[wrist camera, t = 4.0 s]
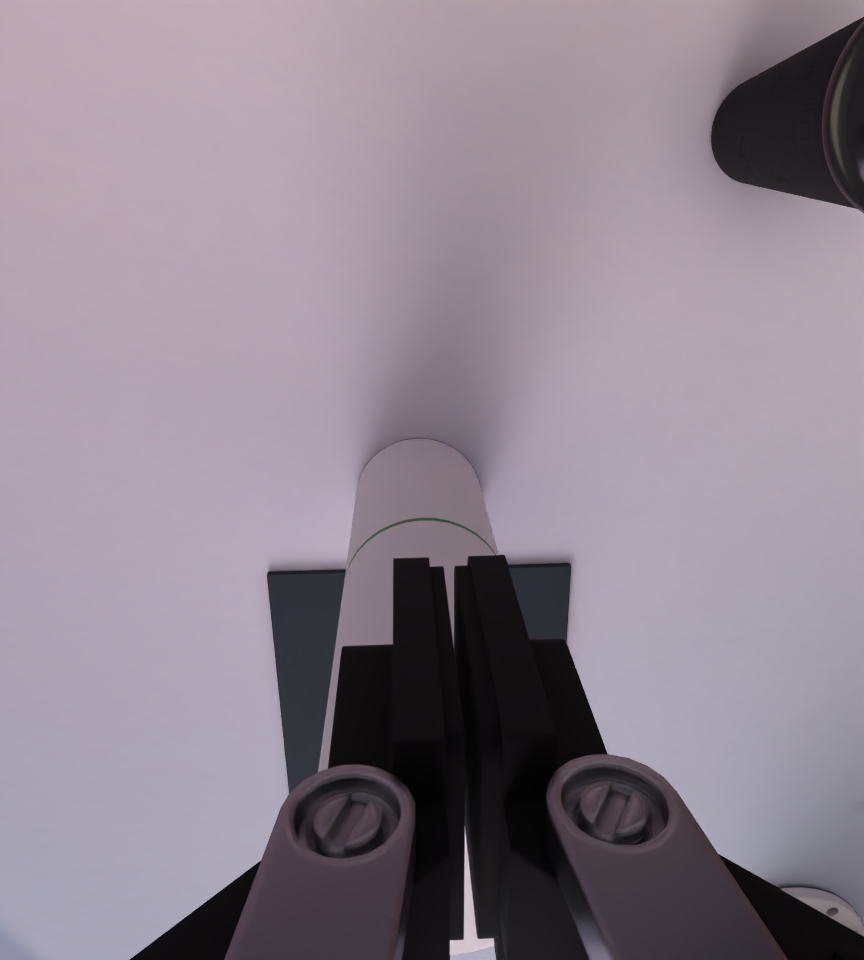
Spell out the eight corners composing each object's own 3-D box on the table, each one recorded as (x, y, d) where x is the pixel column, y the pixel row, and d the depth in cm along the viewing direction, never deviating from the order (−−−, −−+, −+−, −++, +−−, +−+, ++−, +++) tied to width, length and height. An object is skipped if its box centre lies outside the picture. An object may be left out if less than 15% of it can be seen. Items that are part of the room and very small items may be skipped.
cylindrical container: (374, 565, 45) (348, 977, 21) (341, 455, 42) (271, 788, 19) (491, 537, 44) (595, 926, 21) (465, 425, 42) (550, 727, 19)
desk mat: (569, 563, 45) (571, 566, 45) (553, 819, 52) (554, 823, 52) (267, 571, 45) (266, 574, 44) (293, 829, 52) (293, 834, 51)
